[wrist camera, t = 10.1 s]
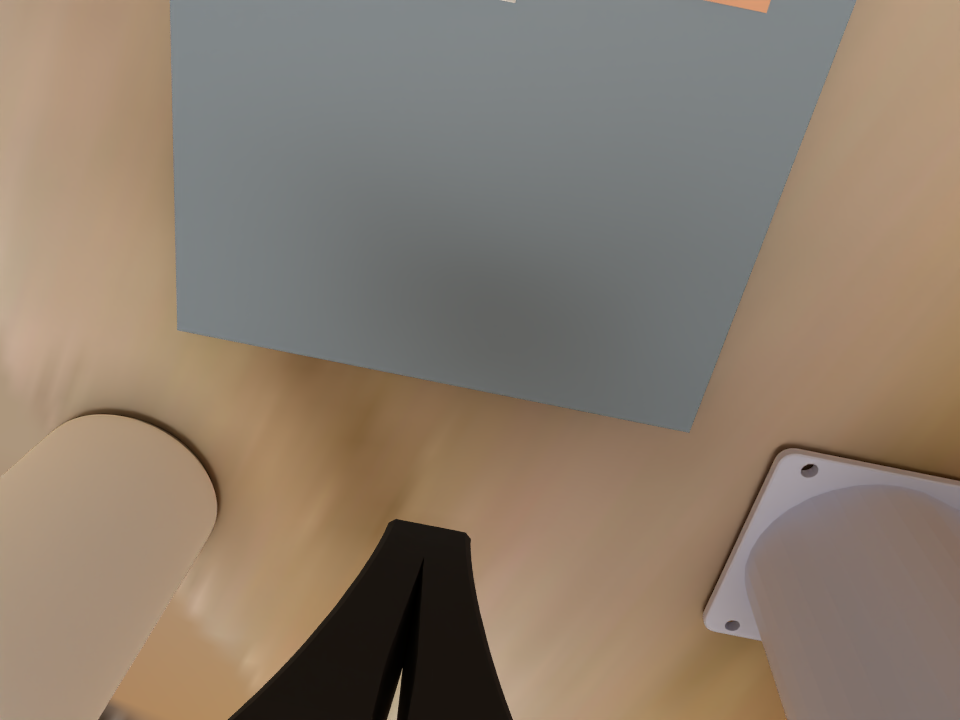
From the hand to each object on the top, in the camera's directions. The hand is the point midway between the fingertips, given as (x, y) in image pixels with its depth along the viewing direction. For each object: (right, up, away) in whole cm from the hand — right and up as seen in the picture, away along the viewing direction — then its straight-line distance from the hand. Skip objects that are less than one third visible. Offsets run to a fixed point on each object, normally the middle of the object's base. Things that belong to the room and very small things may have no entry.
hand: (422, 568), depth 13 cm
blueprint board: (+1, +11, +6) cm, 13 cm away
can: (-11, -1, +13) cm, 18 cm away
